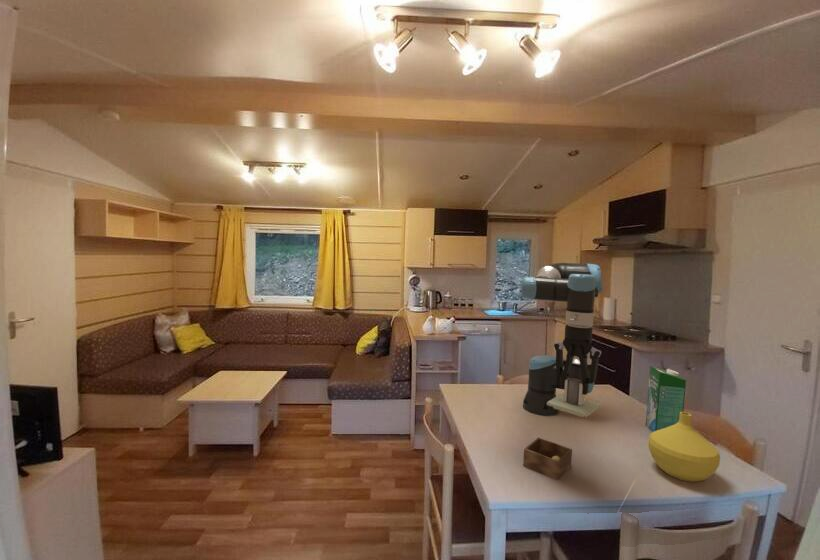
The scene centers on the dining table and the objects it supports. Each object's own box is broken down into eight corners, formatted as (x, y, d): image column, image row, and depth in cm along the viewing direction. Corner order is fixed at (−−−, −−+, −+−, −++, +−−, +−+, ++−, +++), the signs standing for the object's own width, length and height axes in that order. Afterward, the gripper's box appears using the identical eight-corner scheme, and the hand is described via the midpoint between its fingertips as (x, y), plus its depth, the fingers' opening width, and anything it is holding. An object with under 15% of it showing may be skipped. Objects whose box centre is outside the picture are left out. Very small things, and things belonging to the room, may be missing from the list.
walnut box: (523, 467, 120) (524, 448, 120) (537, 454, 128) (538, 437, 128) (558, 482, 113) (559, 462, 112) (570, 467, 121) (572, 449, 120)
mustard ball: (549, 465, 120) (549, 456, 120) (553, 462, 123) (553, 452, 122) (558, 469, 118) (559, 460, 118) (562, 465, 121) (563, 456, 120)
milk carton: (681, 439, 144) (686, 374, 142) (654, 435, 145) (660, 371, 144) (670, 428, 152) (675, 367, 151) (645, 425, 154) (650, 365, 153)
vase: (641, 452, 132) (646, 398, 131) (706, 465, 125) (711, 408, 124) (652, 480, 115) (657, 419, 114) (727, 497, 108) (733, 432, 107)
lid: (546, 408, 115) (548, 379, 114) (561, 398, 123) (563, 372, 123) (586, 420, 107) (588, 389, 107) (599, 409, 115) (601, 381, 115)
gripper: (546, 322, 117) (541, 397, 118) (604, 331, 105) (599, 414, 107) (556, 320, 122) (551, 391, 124) (612, 328, 111) (607, 407, 112)
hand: (573, 402), depth 115 cm, fingers closed on lid, 4 cm apart
